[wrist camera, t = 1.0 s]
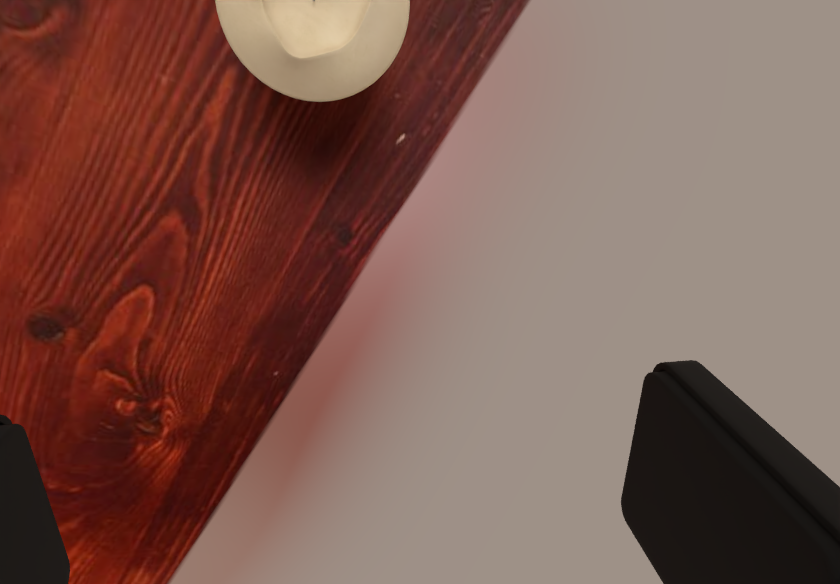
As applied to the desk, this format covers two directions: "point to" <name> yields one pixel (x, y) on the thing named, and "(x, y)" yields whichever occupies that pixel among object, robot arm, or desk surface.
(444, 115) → the desk surface
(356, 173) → the desk surface
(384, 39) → the candle
